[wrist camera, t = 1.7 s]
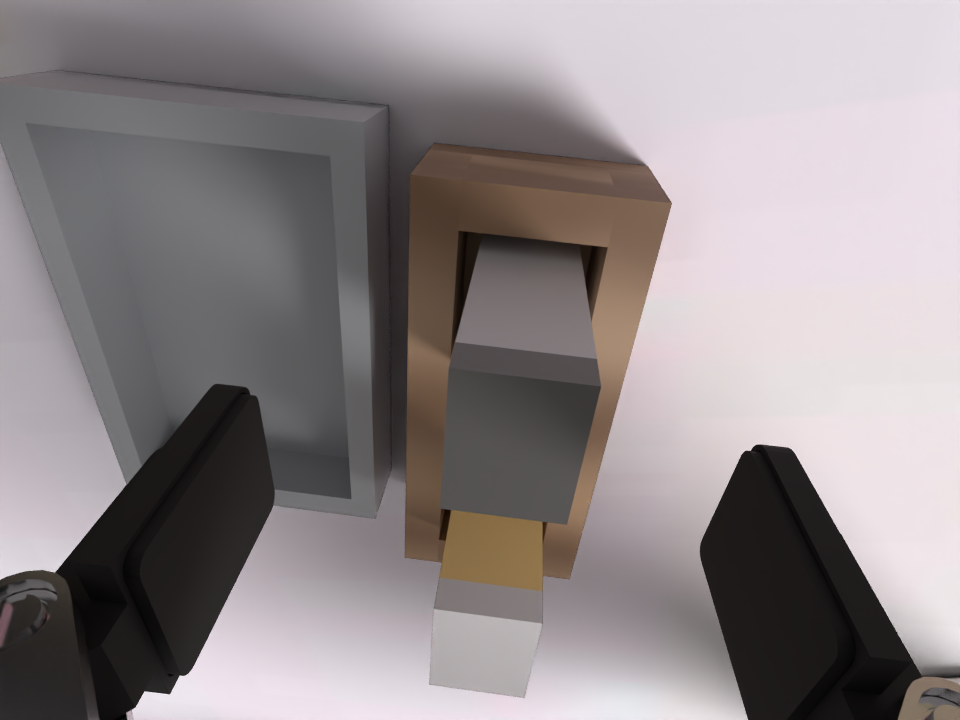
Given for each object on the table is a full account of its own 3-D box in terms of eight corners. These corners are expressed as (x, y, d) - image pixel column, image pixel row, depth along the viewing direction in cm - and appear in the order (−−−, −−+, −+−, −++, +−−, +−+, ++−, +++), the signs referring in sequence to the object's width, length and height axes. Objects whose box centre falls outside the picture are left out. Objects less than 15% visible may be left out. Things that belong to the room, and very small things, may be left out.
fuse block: (565, 507, 27) (569, 579, 23) (421, 488, 27) (404, 557, 24) (647, 165, 18) (672, 203, 15) (434, 143, 18) (409, 174, 15)
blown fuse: (557, 333, 21) (566, 524, 13) (477, 323, 21) (440, 508, 13) (577, 229, 18) (601, 386, 11) (486, 218, 19) (448, 367, 11)
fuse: (529, 487, 25) (524, 697, 17) (463, 479, 25) (428, 684, 18) (542, 417, 23) (542, 623, 15) (469, 408, 23) (433, 608, 15)
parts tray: (391, 469, 27) (375, 518, 24) (166, 441, 27) (127, 486, 24) (388, 105, 18) (363, 122, 15) (56, 70, 18) (-23, 81, 16)
